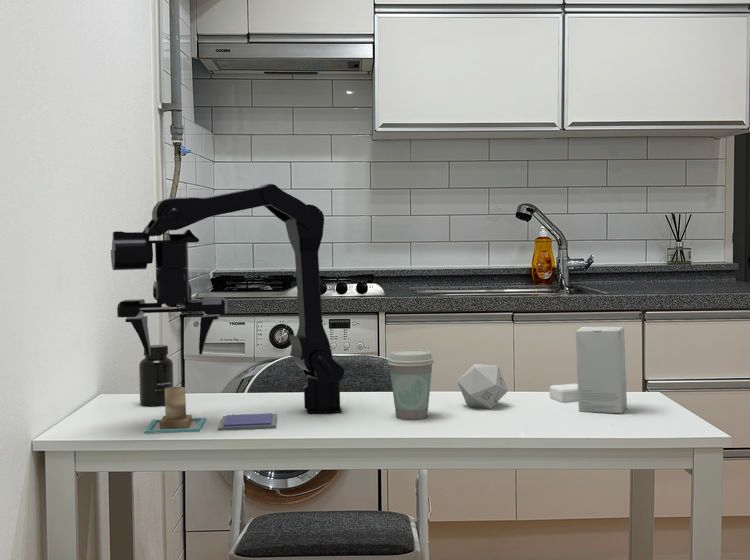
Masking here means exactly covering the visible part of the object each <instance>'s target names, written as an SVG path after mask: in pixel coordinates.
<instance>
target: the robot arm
mask: <svg viewBox="0 0 750 560" xmlns="http://www.w3.org/2000/svg"><path fill="white" fill-rule="evenodd" d="M259 207H265V208H266V210H269V212H270V213H272V214H273V215H274V216H275V217H276V218H277V219H279V220H280V221H281V222H283V223H285V228H286V232H287V238H288V240H289V242H290V245H291V248H292V250H293V252H294V261H295V277H296V292H297V294H296V295H297V308H298V329H297V333H296V335H295V334H293V335H292V334H290V335H289V342H290V346H291V351H290V354H289V356H290V357H293V360H294V363H295V365H296V366H297V367H298V368H300V369H302V372H303V375H304V376H305V377H306V385H304V386H303V395H304V396H303V401H304V405H303V406H304V409H305V410H306V413H307V414H323V413H341V412H342V407H341V386H340V384H341V383H340V382H341V381H342V380H343V378H344V374H345V369H344V368H343V367H342V366H341V365H340V364H339V363H338V362H337V361H336V360H334V358H333V353H332V352H333V351H332V349H331V348H332V347H331V344H330V340H329V338H328V336H327V335H328V334H327V333H326V330H325V328H324V324H323V313H322V297H321V296H322V295H321V277H320V264H319V263H320V262H319V249H320V246H321V243H322V240H323V237H324V236H323V235H324V228H325V227H324V226H325V216H324V213H323V211H322V210H321V209H320V208H319V207H318V206H317V205H314V204H306V203H305V202H303V201H302V200H301V199H299V198H296V197H295V196H293V195H292V194H289V193H288V192H285V191H284V190H283V189H281V188H279V186H277V185H276V184H273V183H267V184H263V185H260V186H257V187H253V188H248V189H242V190H237V191H233V192H226V193H222V194H217V195H213V196H207V197H190V196H189V197H168V198H165V199H162V200H160V201H157V203H156V204H155V205H154V206H153V208H152V211H151V217H152V218H151V219H150V220H149V222H148V224H147V225H146V226H145V227H144V229H143V230H142V232H141V231H138V232H135V231H133V232H131V231H129V232H127V231H122V230H121V231H119V230H118V231H117V230H116V231H113V232H112V240H111V249H110V261H111V269H112V271H131V270H147V267H148V265H149V264H150V265H151V264H153V261H154V257H155V261H154V262H155V281H154V282H153V285H152V286H153V287H152V297H153V299H154V300H155V301H156V302H146V301H145V299H144V298H143V299H124V300H121V301H120V302H118V304H117V308H116V311H117V318H125V319H124V320H125V321H124V322H125V323H130V324H131V325H132V327H133V329H134V330H135V332H136V334H137V336H138V338H139V341H140V342H141V345H142V347H143V350H144V349H145V352H146V354H147V356H150V345H151V342H150V335H149V328H148V315H145V314H156V313H157V314H159V313H189V312H190V313H191V312H192V313H194V312H195V313H196V312H202V314H203V315H202V316H201V317H200V325H199V339H198V341H199V342H198V350H199V353H198V354H199V355H201V356H202V355H203V353H204V348H205V345H206V341H207V338H208V334H209V332H210V329H211V327H212V325H213V322H214V321H215V320H218V319H220V318H221V315H225V314H227V313H228V302H227V299H226V298H225V297H223V296H220V297H217V296H216V297H204V298H202V301H192V300H193V299H192V293H193V292H192V291H193V290H192V289H193V288H192V286H191V283H190V279H189V278H190V275H189V272H190V271H189V243H199V241H200V239H199V238H198V237H197V236H195V234H193V232H192V231H191V229H185V231H184V232H183V233H167V234H166V237H165V239H164V240H163V239H160V240H159V239H157V240H156V239H155V240H152V239H151V240H150V237H160V236H162V235H164V234H165V233H166V232H169V231H179V230H181V229H183V228H186V227H189V226H190V225H193V224H195V223H198V222H200V221H203V220H205V219H208V218H211V217H215V216H220V215H224V214H229V213H234V212H239V211H244V210H249V209H255V208H259ZM153 244H154V248H153ZM154 252H155V253H154ZM154 255H155V256H154ZM163 305H165V306H163Z"/></svg>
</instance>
